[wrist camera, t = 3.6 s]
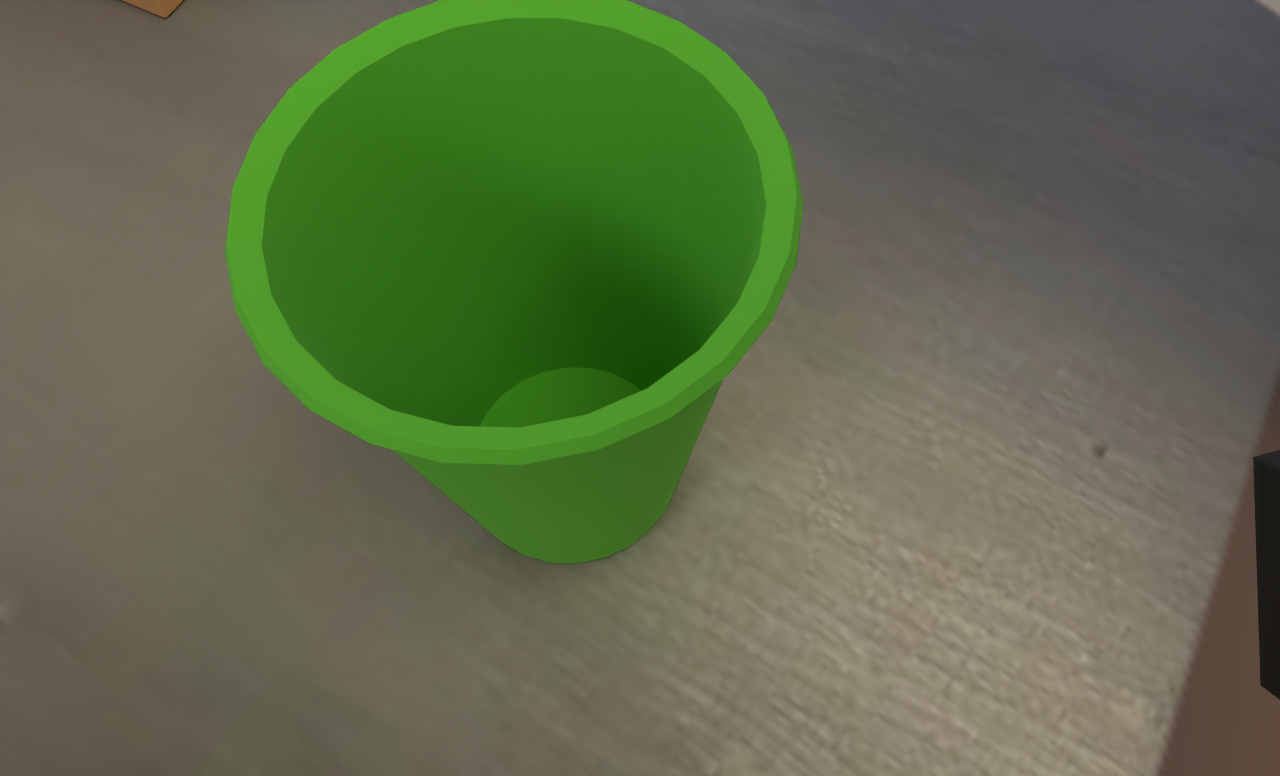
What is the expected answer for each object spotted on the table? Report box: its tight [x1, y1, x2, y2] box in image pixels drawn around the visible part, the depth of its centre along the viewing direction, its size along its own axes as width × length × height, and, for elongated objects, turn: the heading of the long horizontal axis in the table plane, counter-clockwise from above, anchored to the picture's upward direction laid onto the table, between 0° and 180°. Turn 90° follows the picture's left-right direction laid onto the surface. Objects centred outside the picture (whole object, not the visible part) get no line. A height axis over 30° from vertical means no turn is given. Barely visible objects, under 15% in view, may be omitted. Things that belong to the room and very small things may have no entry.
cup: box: [225, 0, 803, 563], centre depth 21 cm, size 9×9×11 cm
